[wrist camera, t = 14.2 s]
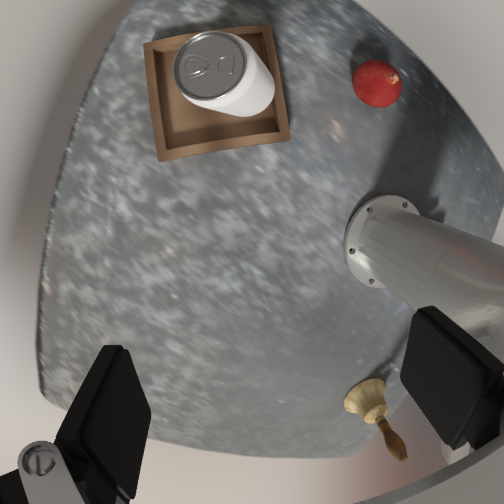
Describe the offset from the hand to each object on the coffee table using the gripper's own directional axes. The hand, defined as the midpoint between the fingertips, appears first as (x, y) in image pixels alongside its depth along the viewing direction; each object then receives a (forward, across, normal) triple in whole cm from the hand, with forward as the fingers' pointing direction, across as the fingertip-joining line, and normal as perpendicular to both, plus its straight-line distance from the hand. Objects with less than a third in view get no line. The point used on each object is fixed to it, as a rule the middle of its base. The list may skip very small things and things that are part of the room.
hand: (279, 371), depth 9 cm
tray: (+27, +2, -15) cm, 31 cm away
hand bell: (+28, -19, +33) cm, 47 cm away
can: (+25, -2, -14) cm, 29 cm away
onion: (+28, -16, -15) cm, 35 cm away
